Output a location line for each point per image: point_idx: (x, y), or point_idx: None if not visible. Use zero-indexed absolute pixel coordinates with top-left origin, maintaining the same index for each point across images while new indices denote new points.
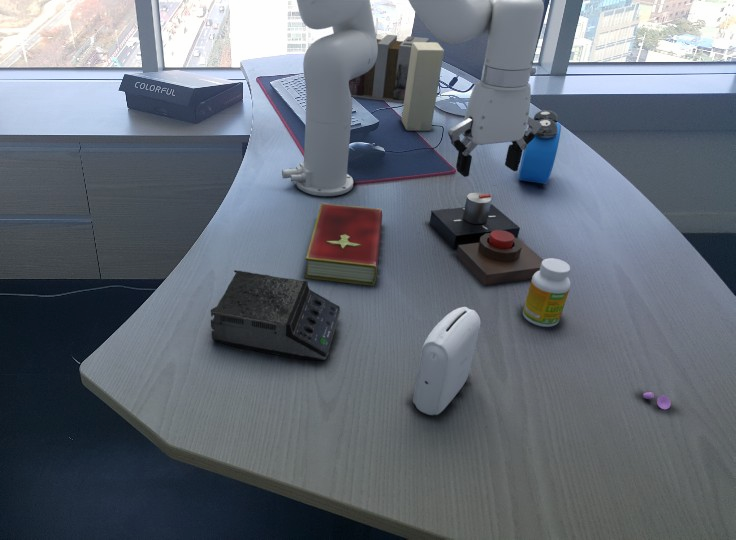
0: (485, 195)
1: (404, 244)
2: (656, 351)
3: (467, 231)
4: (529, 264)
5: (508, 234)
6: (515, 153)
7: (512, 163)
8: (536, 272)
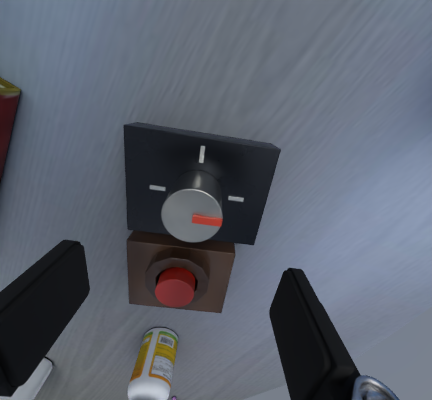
0: (207, 222)
1: (60, 173)
2: (222, 379)
3: (155, 225)
4: (197, 304)
5: (186, 294)
6: (294, 382)
7: (279, 324)
8: (135, 389)
